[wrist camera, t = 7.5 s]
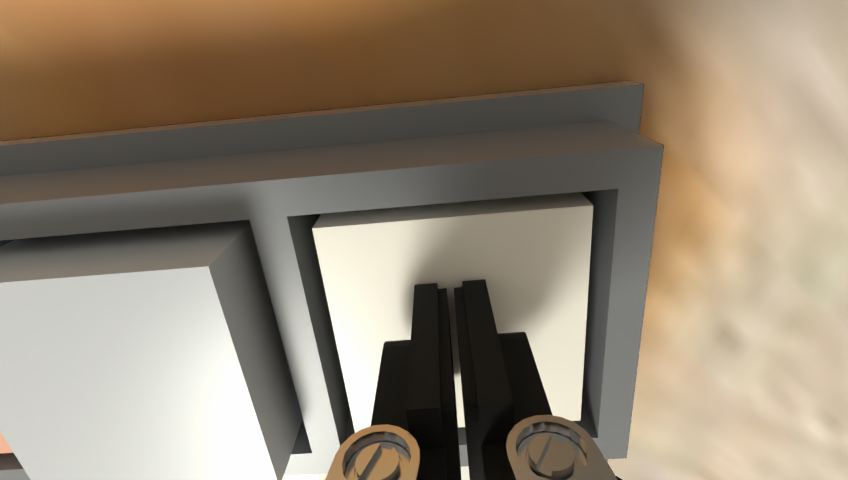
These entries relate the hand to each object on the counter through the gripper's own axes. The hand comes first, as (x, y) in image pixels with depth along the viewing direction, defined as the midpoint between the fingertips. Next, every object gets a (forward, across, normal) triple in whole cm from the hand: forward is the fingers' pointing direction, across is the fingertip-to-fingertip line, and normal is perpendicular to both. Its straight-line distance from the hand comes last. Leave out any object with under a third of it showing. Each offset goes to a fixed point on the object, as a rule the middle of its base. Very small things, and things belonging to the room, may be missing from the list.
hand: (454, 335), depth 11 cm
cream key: (+3, 0, 0) cm, 3 cm away
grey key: (+1, +8, 0) cm, 8 cm away
